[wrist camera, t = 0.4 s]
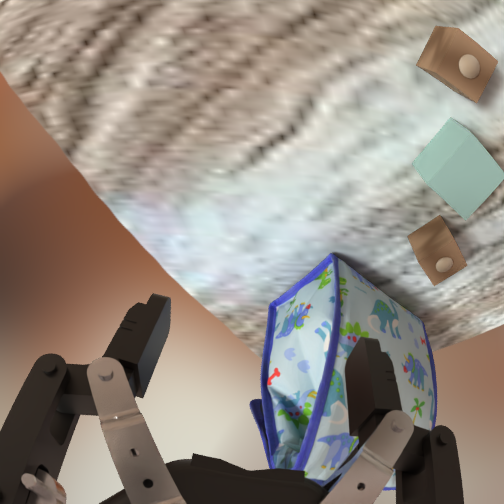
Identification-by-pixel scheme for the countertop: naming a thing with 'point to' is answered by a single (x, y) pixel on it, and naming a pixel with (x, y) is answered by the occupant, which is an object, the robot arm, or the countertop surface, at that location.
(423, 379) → the lunch bag
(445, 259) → the dotted cube
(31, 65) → the countertop surface
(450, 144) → the plain block
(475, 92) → the dotted cube
